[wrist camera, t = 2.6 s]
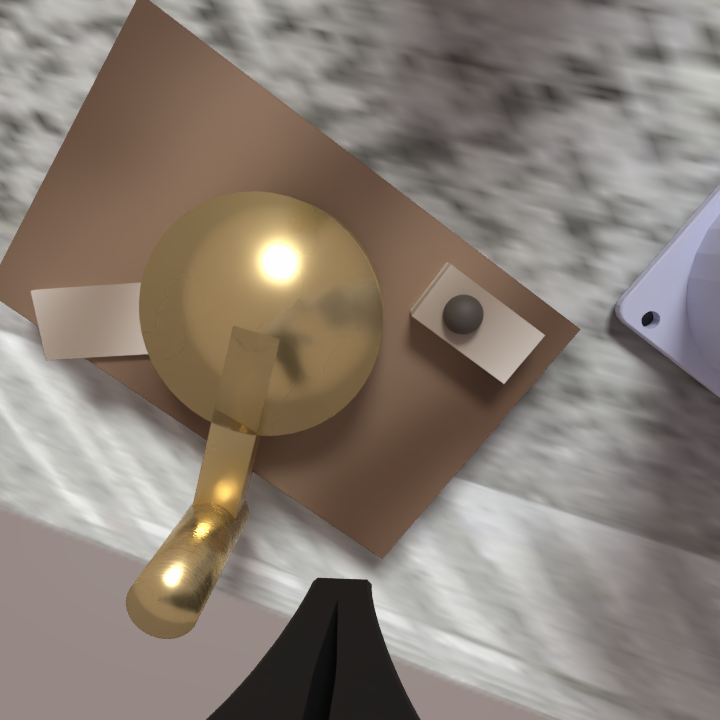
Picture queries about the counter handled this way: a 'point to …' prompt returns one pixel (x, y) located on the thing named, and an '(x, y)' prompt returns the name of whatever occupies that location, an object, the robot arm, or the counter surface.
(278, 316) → the gold door handle
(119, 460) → the counter surface
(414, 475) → the stand
